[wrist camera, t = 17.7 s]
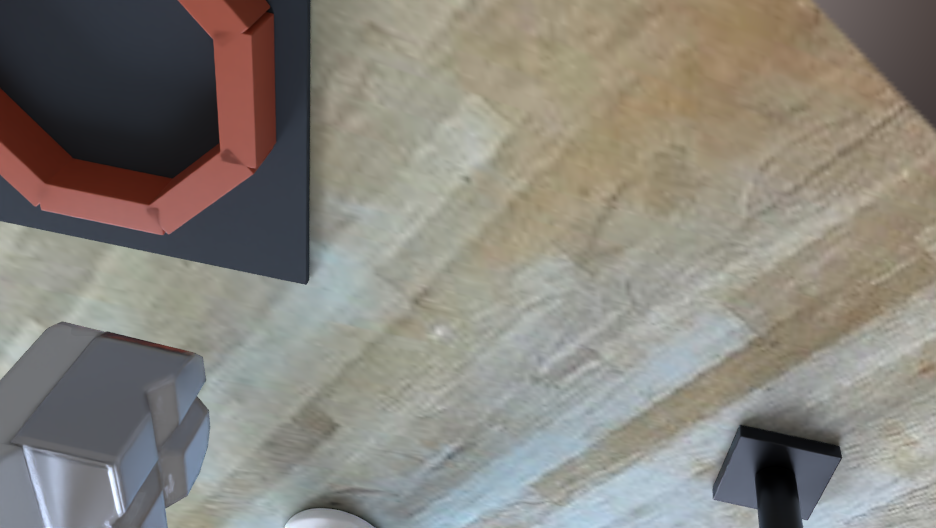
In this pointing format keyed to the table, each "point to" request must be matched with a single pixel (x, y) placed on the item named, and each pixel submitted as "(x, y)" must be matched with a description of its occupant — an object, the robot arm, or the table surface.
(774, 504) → the peg stand
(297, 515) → the candle
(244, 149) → the hoop
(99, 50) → the mat
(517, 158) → the table surface
